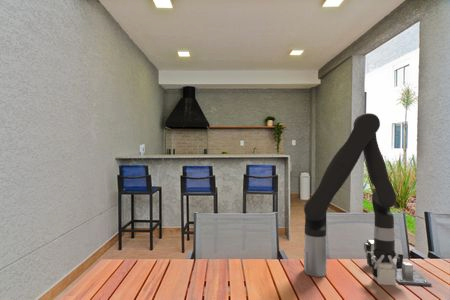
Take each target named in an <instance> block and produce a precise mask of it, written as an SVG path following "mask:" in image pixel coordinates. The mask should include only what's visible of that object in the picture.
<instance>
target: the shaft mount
mask: <svg viewBox="0 0 450 300" xmlns="http://www.w3.org/2000/svg"><path fill="white" fill-rule="evenodd" d="M413 266H414V265H413V264H412V263H411V262H405V261H403V263H402V269H397V276H396V282H397V284H399V285H408V286H409V285H411V286H423V287H424V286H426V287H432V283H431V282H430V281H429V280H428V279H426V278H425V277H424V276H423V274H420V273H419V272H418V271H417V270H415V269H414V267H413Z"/></svg>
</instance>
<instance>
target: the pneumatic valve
mask: <svg viewBox="0 0 450 300" xmlns="http://www.w3.org/2000/svg"><path fill="white" fill-rule="evenodd" d="M363 250H364V253H366V251H369V252H372V251H373V250H374V239H366V242H364V243H363ZM371 259H372V263H373V262H374V259H375V255H374V254H373V256H372V257H371Z"/></svg>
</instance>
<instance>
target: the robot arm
mask: <svg viewBox="0 0 450 300" xmlns="http://www.w3.org/2000/svg"><path fill="white" fill-rule="evenodd" d="M380 126H381V121H380V119H379V117H378V115H376V114H375V113H371V112H367V113H363V114H361V115H358V116H356V118H355V119H354V121H353V127H352V130H351V132H350V134H349V136H348V138H347V139H346V142H344V144H343V145H342V146H341V147H340V148H339V150H337V152H336V154H334V155H333V157H332V159H331V161H330V162H329V164H328V166H327V167H326V170H325V171H324V173H323V176H322V178H321V180H320V182H319V185H318V187H317V188H316V190H315V191H314V193H313V194H312V195H311V197H310V198H309V199H307V200H306V201H305V204H304V207H303V212H304V216H305V217H304V219H305V220H304V248H303V269H304V273H305V276H306V275H308V276H311V277H316V278H323V277H325V276H327V211H328V208H329V206H330V205H331V202H332V201H333V199H334V197H335V195H336V194H337V193H338V192H339V190H340V189H341V188H342V187H343V185H344V183H346V181H347V179H348V178H349V177H350V175H351V173H352V171H353V170H354V168H355V167H356V165H357V163H358V161H359V159H360V157H361V154H362V153H363V156H364V160H365V165H366V169H367V173H368V179H369V181H370V183H371V184H372V186H374V191H373V192H372V195H371V203H372V209H373V212H374V228H373V240H374V250H373V251H372V252H369V251H366V252H365V256H366V262H367V263H366V264H367V265H368V267H370V268H371V269H372V270H371V271H372V272H371V274H372V276H373V278H374V277H375V278H377V267H378V264H379V263H381V262H387V263H389V262H391V264H393V269H394V270H396V276H397V269H402V263H403V262H404V255H403V254H402V253H401V252H396V250H395V249H396V248H395V247H396V243H395V239H396V238H395V237H396V234H395V218H394V214H393V213H392V212H391V208H393V207H394V206H395V205H396V203H397V195H396V191H395V188H394V186H393V185H392V183H391V181H390V177H389V174H388V173H389V172H388V169H387V165H386V161H385V159H384V157H383V155H382V152H381V150H380V147H379V144H378V139H377V133H378V131H379V129H380ZM373 254H374V255H375V259H374V262H373V263H372V258H373V257H374V256H373ZM394 258H396V263H395V261H394V260H393V259H394Z"/></svg>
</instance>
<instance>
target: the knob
mask: <svg viewBox="0 0 450 300" xmlns="http://www.w3.org/2000/svg"><path fill="white" fill-rule="evenodd" d="M373 278H374V280H375V281H376V282H377V283H378V285H385V286H396V282H397V281H396V270H394V269H393V264H391V262H389V263H387V262H381V263H379V264H378V267H377V278H375V277H374V276H373Z"/></svg>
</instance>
